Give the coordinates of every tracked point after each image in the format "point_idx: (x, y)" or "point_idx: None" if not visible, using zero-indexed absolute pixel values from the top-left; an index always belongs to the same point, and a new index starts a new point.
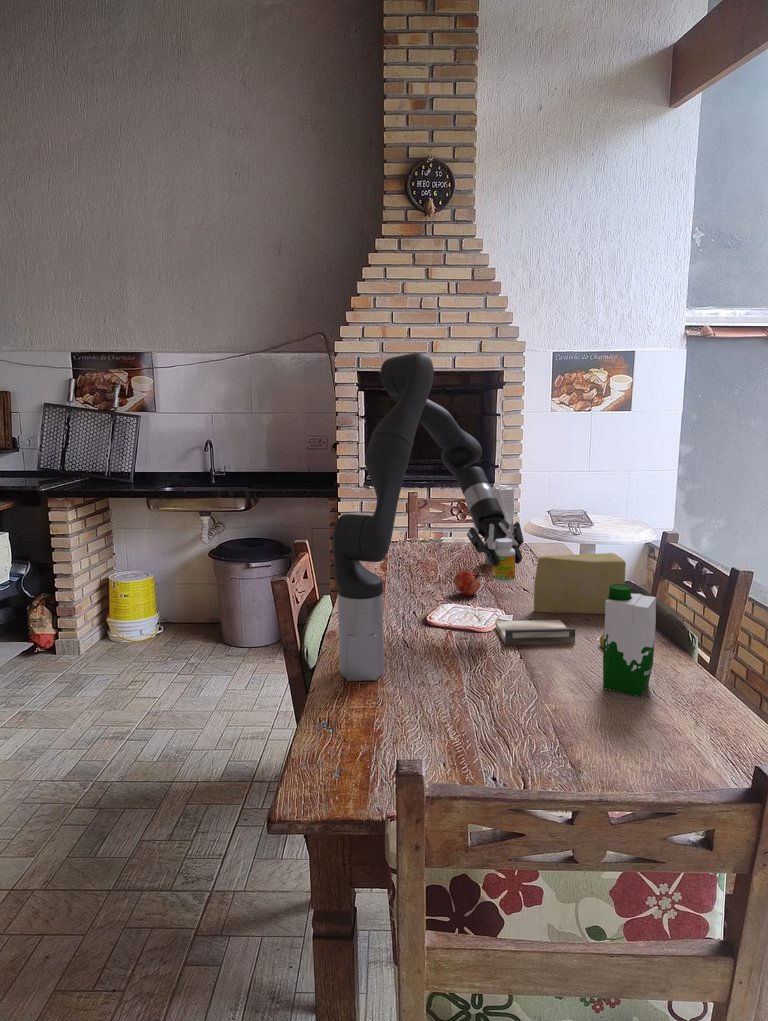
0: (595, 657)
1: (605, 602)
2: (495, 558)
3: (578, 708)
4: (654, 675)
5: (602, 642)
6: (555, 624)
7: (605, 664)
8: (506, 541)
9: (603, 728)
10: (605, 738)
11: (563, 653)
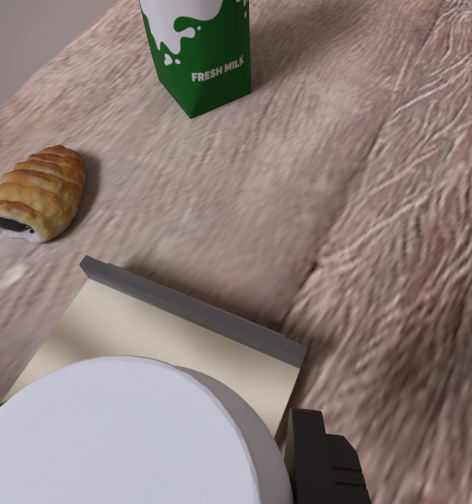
0: (136, 193)
1: None
2: (325, 434)
3: (346, 64)
4: (115, 96)
5: (66, 212)
6: None
7: (246, 47)
8: (135, 391)
9: (350, 21)
10: (365, 7)
11: (186, 241)
